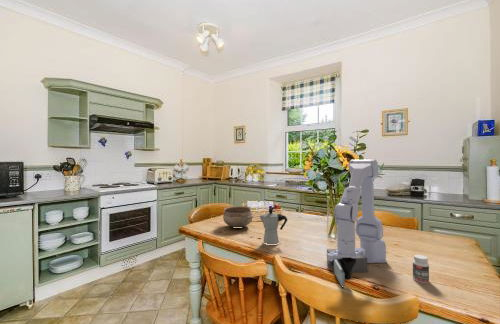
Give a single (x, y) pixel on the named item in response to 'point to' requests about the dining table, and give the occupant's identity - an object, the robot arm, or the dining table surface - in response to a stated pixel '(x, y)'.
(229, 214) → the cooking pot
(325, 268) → the dining table surface
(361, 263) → the camera housing
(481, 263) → the dining table surface
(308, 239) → the dining table surface
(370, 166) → the robot arm
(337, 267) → the side door
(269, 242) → the coffee maker
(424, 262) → the pill bottle
